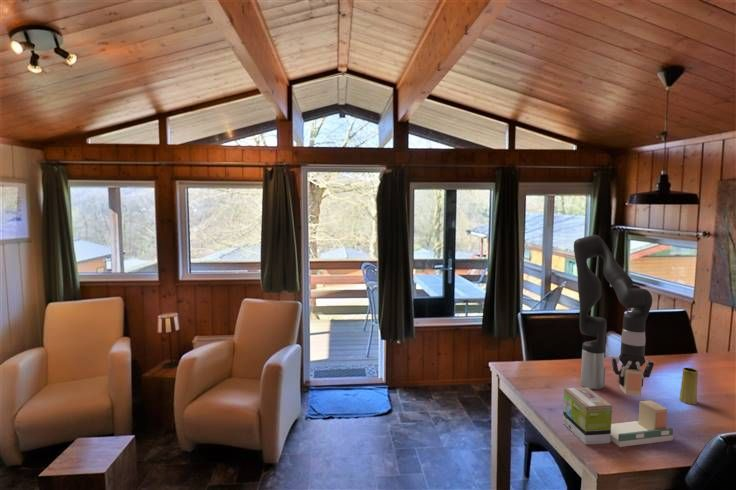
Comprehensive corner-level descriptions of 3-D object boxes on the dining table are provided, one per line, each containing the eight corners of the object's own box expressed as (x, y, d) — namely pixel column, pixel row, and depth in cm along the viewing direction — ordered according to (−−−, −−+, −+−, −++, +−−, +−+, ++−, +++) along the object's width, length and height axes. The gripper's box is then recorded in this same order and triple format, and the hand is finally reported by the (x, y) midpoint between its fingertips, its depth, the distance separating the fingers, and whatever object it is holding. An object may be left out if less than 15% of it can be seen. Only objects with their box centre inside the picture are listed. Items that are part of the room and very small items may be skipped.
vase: (693, 399, 184) (695, 368, 183) (699, 405, 178) (701, 373, 177) (677, 397, 186) (679, 366, 185) (682, 403, 180) (684, 371, 179)
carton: (634, 388, 160) (636, 365, 159) (641, 396, 153) (642, 372, 152) (619, 387, 161) (621, 364, 160) (625, 394, 154) (627, 371, 153)
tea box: (561, 423, 164) (563, 387, 162) (586, 422, 165) (587, 386, 163) (584, 445, 149) (586, 405, 147) (611, 444, 150) (613, 404, 148)
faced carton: (649, 422, 160) (650, 400, 159) (666, 432, 153) (667, 409, 152) (638, 424, 159) (639, 401, 158) (654, 434, 152) (656, 410, 151)
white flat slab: (647, 424, 162) (647, 414, 162) (672, 440, 152) (673, 429, 151) (597, 430, 158) (597, 419, 158) (620, 447, 147) (620, 435, 147)
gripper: (651, 340, 157) (648, 384, 158) (608, 337, 161) (606, 380, 162) (659, 346, 150) (656, 392, 151) (614, 343, 154) (611, 388, 155)
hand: (630, 386), depth 157 cm, fingers closed on carton, 5 cm apart
